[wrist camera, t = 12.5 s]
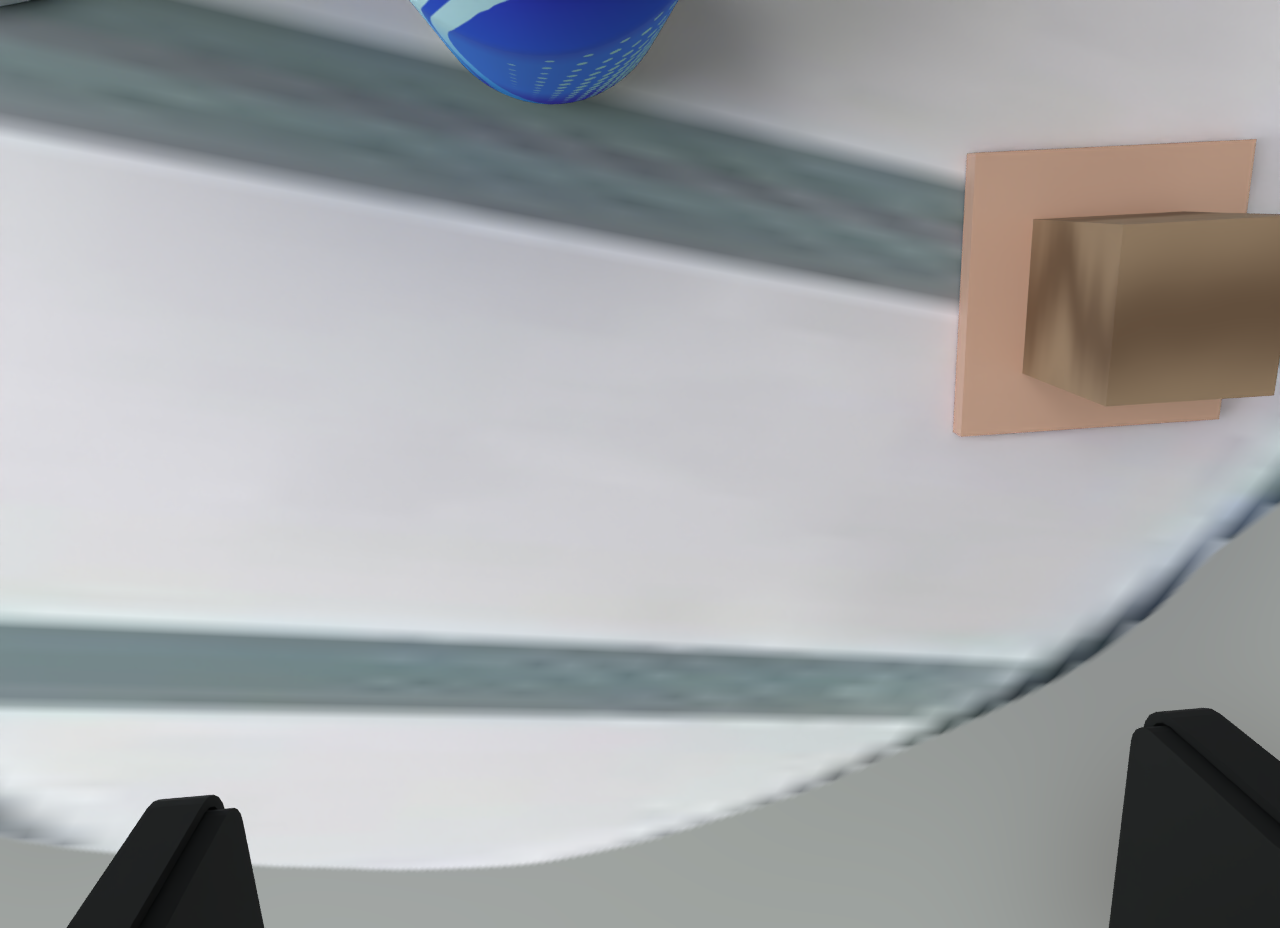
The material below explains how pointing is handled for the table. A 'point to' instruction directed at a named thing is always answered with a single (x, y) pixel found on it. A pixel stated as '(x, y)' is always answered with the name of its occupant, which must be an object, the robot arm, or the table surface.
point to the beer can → (547, 42)
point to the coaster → (1001, 251)
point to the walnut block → (1155, 306)
